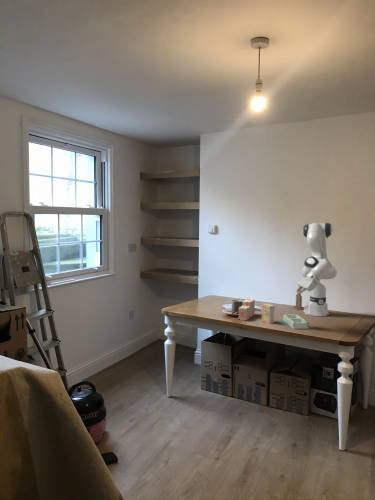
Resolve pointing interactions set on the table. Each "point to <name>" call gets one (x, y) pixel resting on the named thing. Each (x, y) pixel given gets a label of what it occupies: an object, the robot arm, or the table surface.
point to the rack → (295, 321)
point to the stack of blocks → (246, 309)
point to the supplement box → (267, 313)
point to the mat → (289, 325)
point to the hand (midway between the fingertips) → (298, 292)
